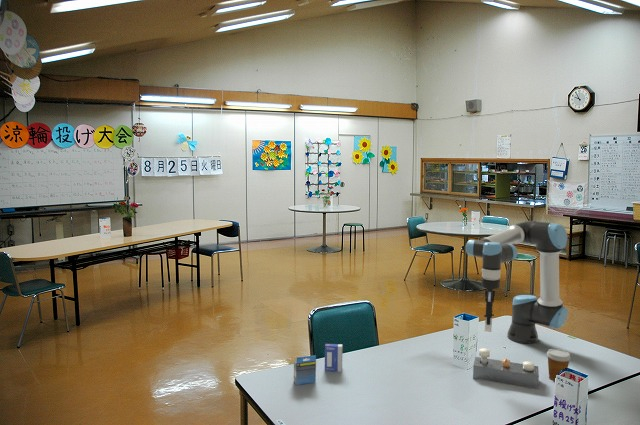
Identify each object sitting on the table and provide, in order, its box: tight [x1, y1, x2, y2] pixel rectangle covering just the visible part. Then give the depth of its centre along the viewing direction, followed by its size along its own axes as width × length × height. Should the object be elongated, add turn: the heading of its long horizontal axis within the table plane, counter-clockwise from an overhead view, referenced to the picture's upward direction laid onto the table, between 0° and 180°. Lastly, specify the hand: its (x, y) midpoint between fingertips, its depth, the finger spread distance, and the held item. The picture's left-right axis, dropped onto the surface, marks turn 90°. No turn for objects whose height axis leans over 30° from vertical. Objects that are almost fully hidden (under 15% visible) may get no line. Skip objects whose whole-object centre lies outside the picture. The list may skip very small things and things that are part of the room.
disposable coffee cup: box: [546, 348, 572, 382], centre depth 215 cm, size 10×10×12 cm
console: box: [472, 356, 540, 391], centre depth 215 cm, size 10×26×6 cm, turn 68°
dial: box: [501, 358, 511, 367], centre depth 214 cm, size 3×3×3 cm
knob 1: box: [478, 347, 491, 364], centre depth 218 cm, size 4×4×8 cm
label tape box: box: [293, 354, 317, 386], centre depth 210 cm, size 9×4×12 cm, turn 109°
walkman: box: [324, 343, 344, 373], centre depth 222 cm, size 8×3×12 cm, turn 85°
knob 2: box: [522, 360, 535, 371], centre depth 211 cm, size 4×4×8 cm
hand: (488, 330), depth 216 cm, fingers closed
